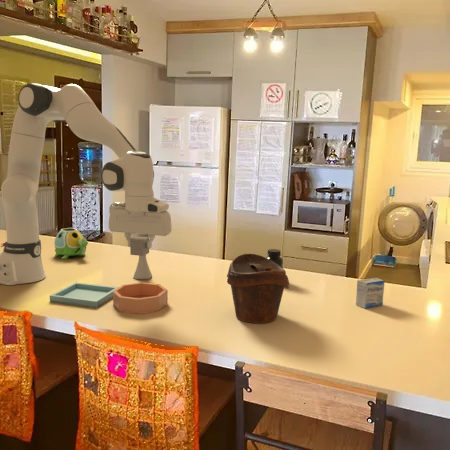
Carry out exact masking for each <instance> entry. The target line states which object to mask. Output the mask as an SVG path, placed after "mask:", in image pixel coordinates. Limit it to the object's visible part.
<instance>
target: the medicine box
mask: <svg viewBox="0 0 450 450" xmlns="http://www.w3.org/2000/svg"><path fill="white" fill-rule="evenodd" d="M384 290H385V280H383V279H381V278H379V277H371V278H365V279H364V278H363V279H358V280H357V282H356V297H355V305H356V306H358V307H360V308H363V309H364V310H365V309H371V308H375V307H380V306H381V307H382V306H383V305H384V304H383V303H384V293H385V292H384Z"/></svg>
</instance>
